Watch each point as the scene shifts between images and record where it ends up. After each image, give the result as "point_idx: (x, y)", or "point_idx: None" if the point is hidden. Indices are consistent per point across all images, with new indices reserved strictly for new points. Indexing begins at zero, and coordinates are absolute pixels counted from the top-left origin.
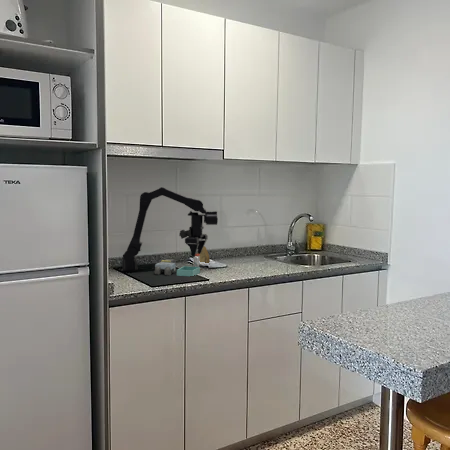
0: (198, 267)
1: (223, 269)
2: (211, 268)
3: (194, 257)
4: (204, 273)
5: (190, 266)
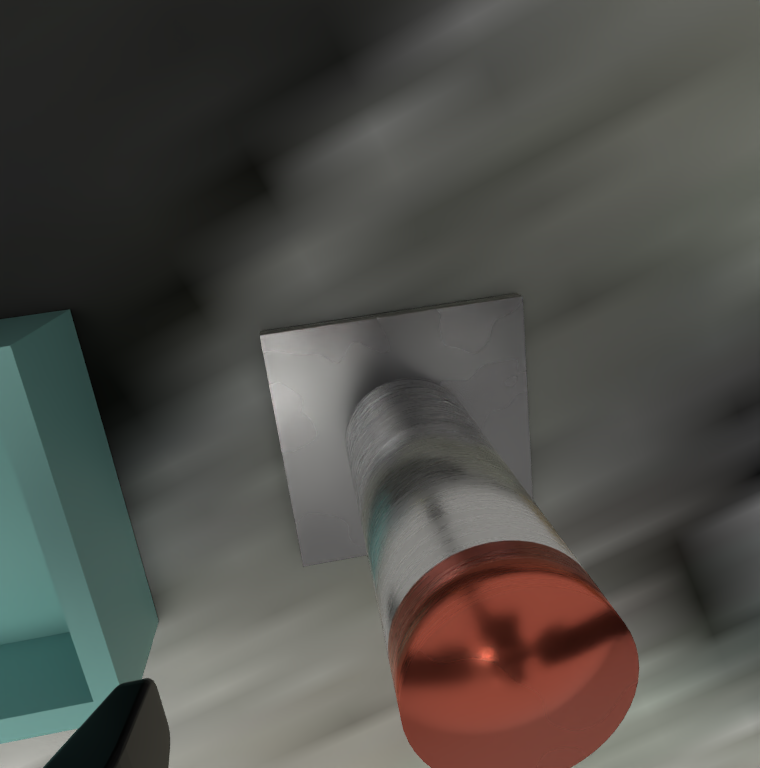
0: (62, 717)
1: (658, 751)
2: (679, 574)
3: (389, 582)
4: (201, 680)
5: (61, 517)
